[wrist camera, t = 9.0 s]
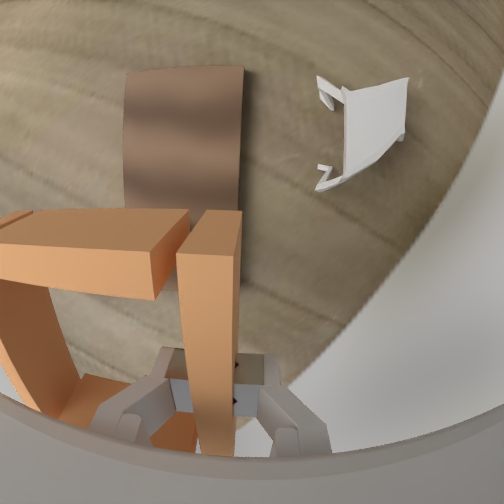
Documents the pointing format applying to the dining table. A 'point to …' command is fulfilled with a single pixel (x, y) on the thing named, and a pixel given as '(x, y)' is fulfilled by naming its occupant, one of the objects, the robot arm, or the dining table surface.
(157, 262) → the square wooden frame
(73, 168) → the dining table surface
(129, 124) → the peg board
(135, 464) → the robot arm
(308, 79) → the dining table surface
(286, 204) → the dining table surface
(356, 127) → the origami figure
